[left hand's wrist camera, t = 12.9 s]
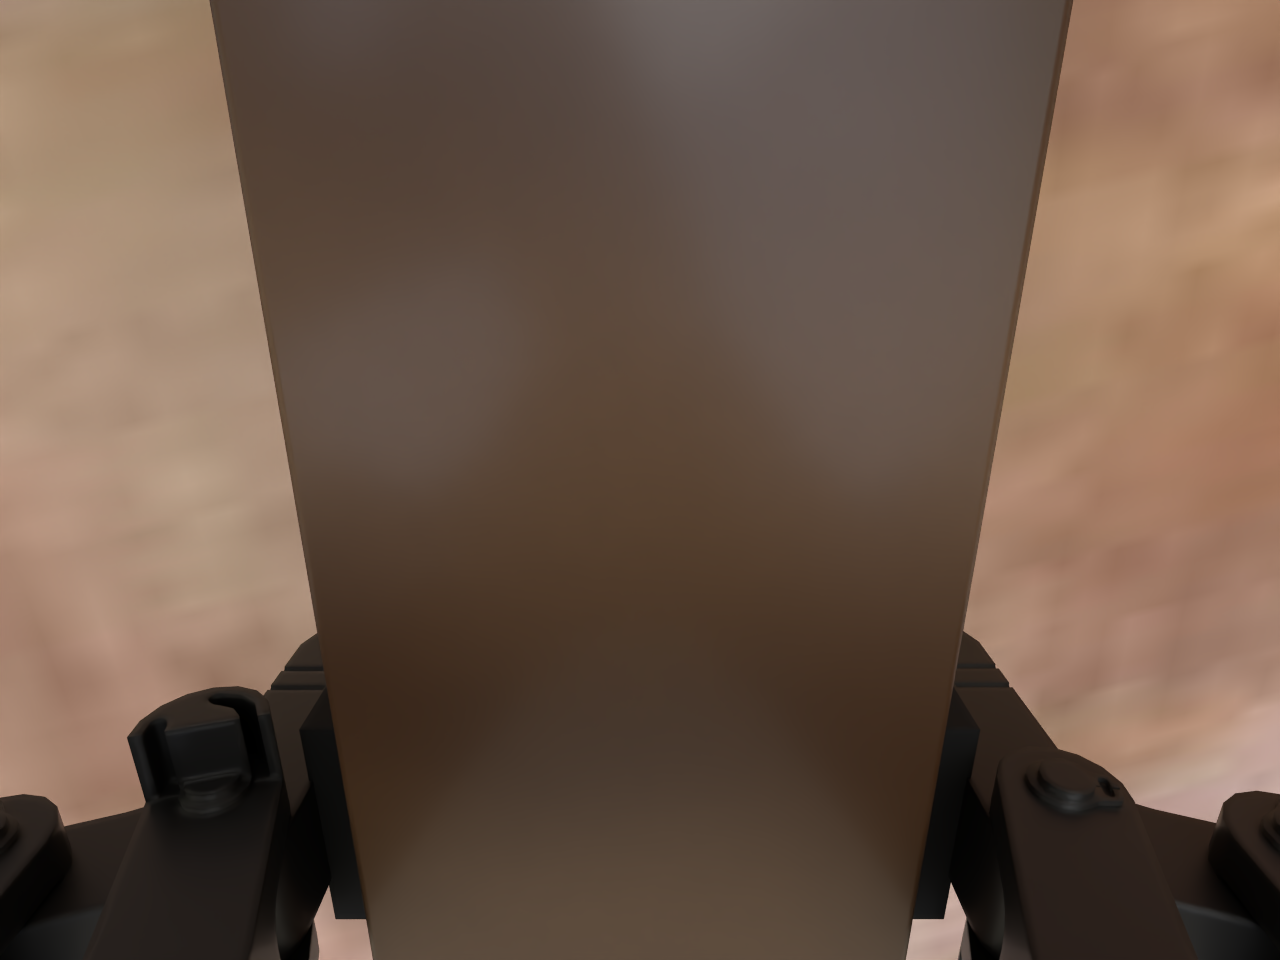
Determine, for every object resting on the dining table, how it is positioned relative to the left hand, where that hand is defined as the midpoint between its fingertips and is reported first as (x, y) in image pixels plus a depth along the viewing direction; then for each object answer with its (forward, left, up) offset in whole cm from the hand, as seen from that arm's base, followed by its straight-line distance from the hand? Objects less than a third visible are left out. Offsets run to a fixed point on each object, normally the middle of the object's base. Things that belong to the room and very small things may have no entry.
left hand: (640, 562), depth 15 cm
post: (-30, +6, -1) cm, 30 cm away
